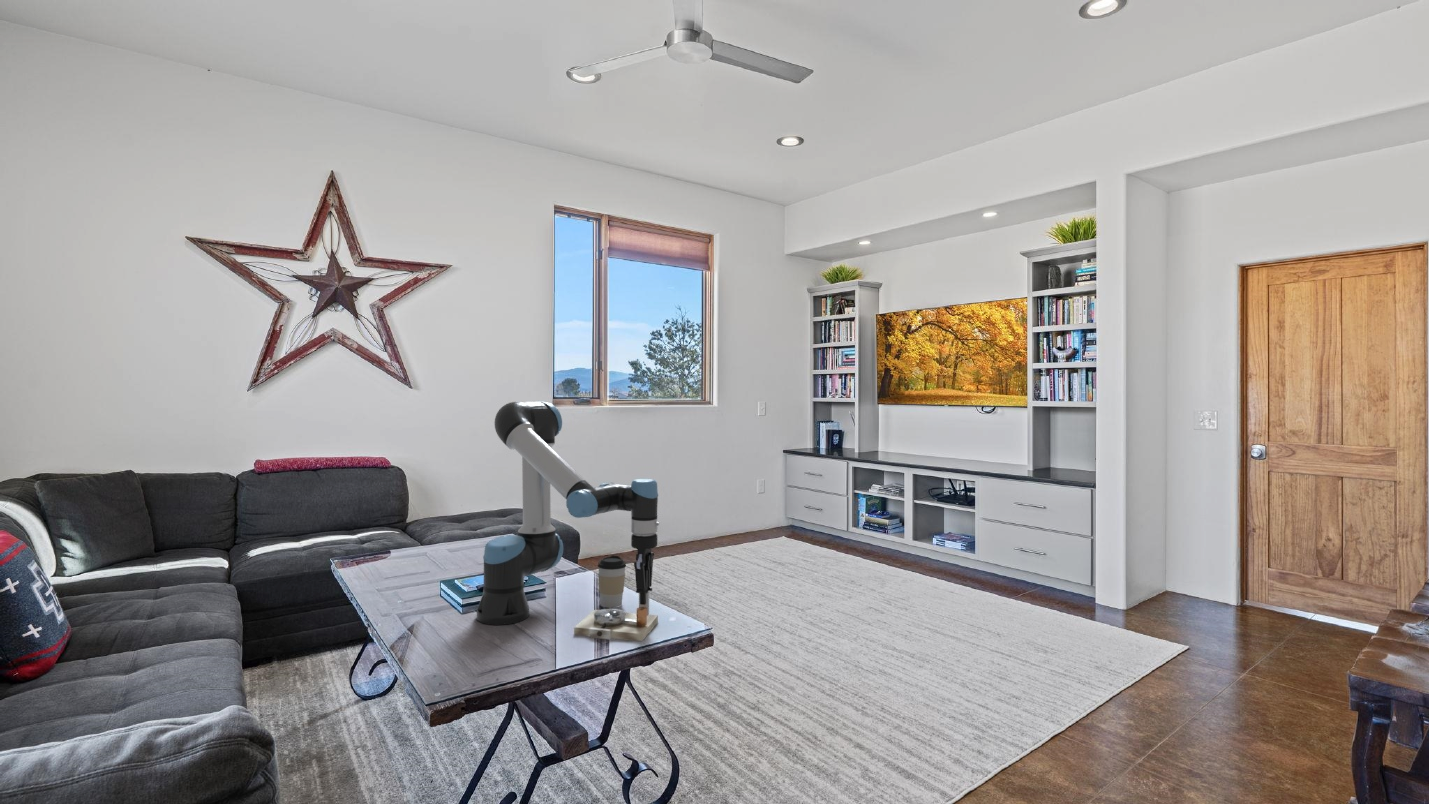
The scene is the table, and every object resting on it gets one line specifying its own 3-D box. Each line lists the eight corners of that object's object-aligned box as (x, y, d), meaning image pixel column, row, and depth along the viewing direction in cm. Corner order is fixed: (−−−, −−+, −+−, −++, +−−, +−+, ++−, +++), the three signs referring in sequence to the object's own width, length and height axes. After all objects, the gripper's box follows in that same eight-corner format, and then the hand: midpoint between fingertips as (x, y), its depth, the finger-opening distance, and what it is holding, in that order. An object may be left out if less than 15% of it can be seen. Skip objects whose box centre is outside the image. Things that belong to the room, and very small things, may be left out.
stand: (571, 636, 191) (571, 628, 191) (594, 615, 208) (594, 608, 208) (639, 643, 187) (640, 635, 187) (657, 622, 205) (657, 614, 205)
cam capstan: (586, 624, 194) (587, 608, 194) (602, 613, 204) (602, 598, 203) (638, 632, 189) (639, 615, 189) (652, 620, 199) (652, 604, 199)
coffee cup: (619, 609, 215) (620, 562, 214) (592, 607, 216) (593, 560, 216) (628, 601, 223) (630, 555, 223) (602, 598, 225) (603, 553, 225)
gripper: (650, 538, 189) (650, 622, 190) (662, 529, 202) (662, 607, 203) (625, 537, 191) (624, 621, 191) (638, 527, 203) (637, 606, 204)
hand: (644, 614), depth 197 cm, fingers closed
